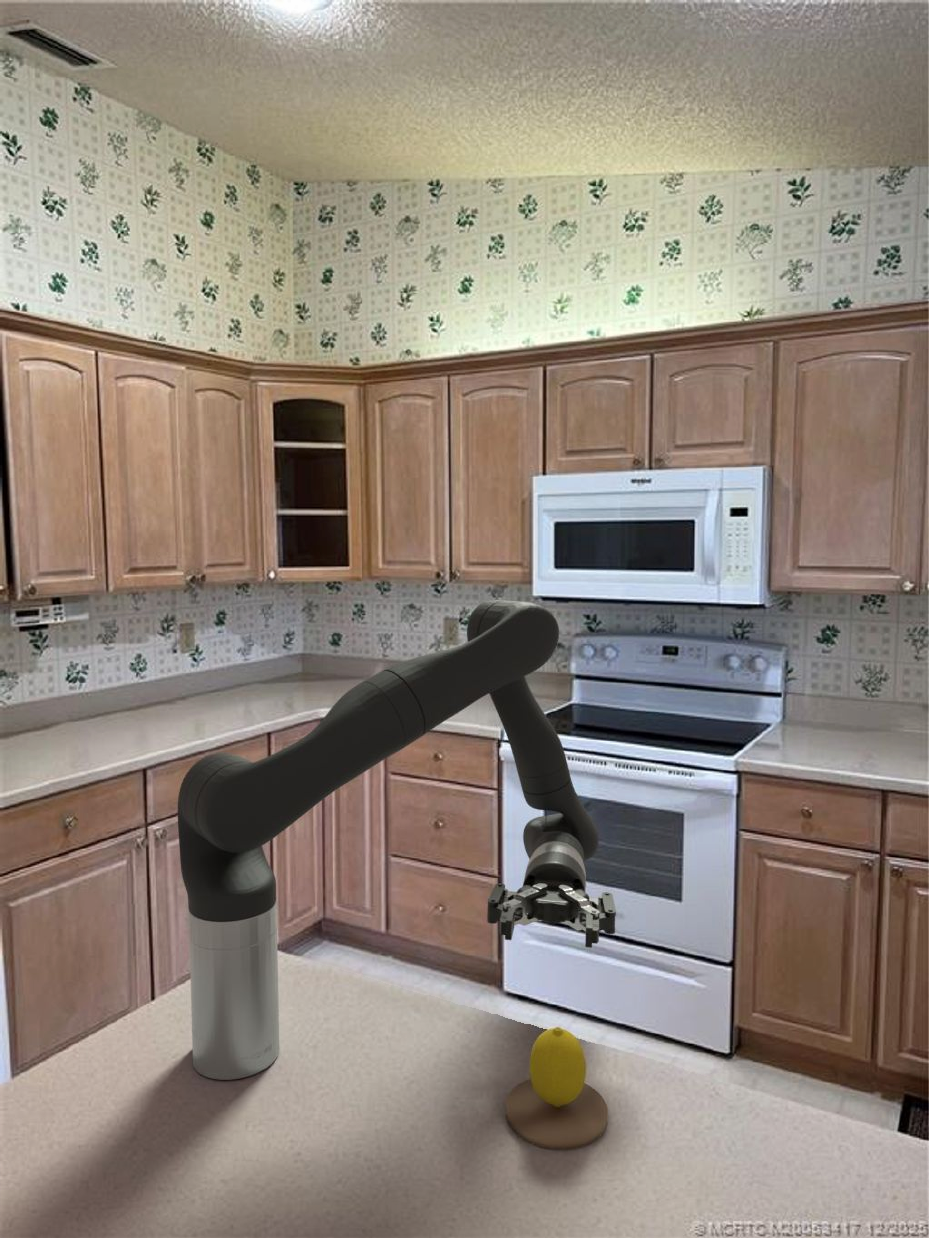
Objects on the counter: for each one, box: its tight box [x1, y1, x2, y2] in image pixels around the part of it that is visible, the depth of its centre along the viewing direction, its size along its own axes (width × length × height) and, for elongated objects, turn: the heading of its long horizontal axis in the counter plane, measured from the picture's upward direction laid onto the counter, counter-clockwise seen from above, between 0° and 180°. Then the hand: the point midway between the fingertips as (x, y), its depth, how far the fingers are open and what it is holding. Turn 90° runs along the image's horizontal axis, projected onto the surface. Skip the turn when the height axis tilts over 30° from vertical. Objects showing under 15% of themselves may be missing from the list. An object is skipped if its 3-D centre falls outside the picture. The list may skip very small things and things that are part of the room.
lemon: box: [528, 1026, 587, 1107], centre depth 85 cm, size 6×6×8 cm
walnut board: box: [505, 1078, 609, 1151], centre depth 86 cm, size 10×10×1 cm
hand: (548, 935), depth 92 cm, fingers open, 8 cm apart
